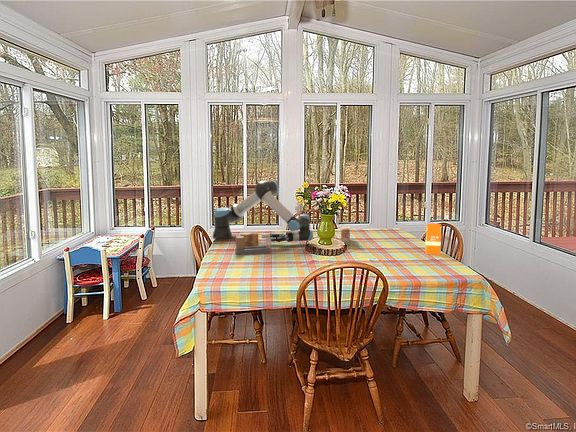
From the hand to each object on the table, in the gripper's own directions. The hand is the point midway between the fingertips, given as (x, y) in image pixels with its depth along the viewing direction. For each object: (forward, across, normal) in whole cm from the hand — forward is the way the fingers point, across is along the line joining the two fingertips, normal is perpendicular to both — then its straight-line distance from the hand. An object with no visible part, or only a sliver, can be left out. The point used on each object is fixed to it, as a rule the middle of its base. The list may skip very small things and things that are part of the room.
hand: (263, 238), depth 325 cm
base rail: (+12, -15, -6) cm, 20 cm away
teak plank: (+11, 0, -6) cm, 12 cm away
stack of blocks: (-61, -5, -6) cm, 62 cm away
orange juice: (-103, -54, -6) cm, 117 cm away
